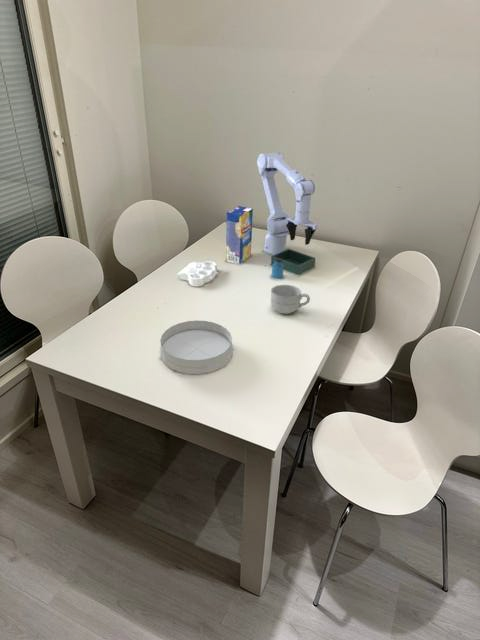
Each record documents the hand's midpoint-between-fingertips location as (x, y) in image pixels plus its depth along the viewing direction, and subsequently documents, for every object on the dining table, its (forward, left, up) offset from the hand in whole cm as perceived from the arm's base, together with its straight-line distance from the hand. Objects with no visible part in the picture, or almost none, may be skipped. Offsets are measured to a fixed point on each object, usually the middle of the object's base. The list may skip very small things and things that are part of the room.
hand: (299, 241), depth 195 cm
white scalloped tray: (-21, -39, -11) cm, 46 cm away
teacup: (+22, -36, -11) cm, 43 cm away
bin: (0, -4, -10) cm, 11 cm away
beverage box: (-22, -14, -11) cm, 28 cm away
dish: (+17, -77, -11) cm, 79 cm away
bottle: (+2, -17, -10) cm, 20 cm away
